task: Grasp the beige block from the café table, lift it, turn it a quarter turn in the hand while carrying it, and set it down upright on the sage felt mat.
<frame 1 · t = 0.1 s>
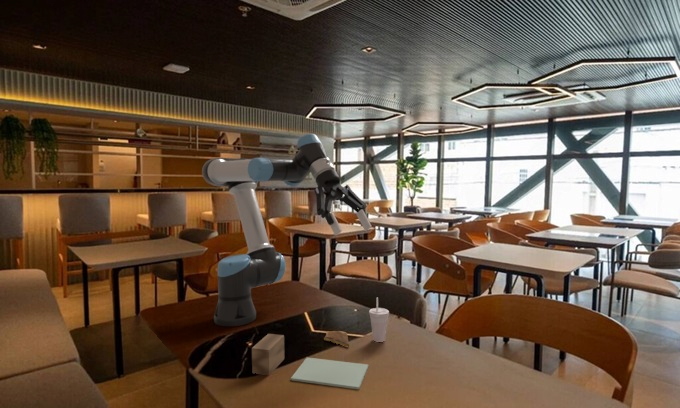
hand: (354, 230, 119), 36 cm above the table, tool tilted 35°, fingers open, 13 cm apart
smoothie: (379, 341, 124), on the table
beige block: (269, 365, 108), on the table
shard: (341, 341, 125), on the table
felt mat: (330, 373, 103), on the table
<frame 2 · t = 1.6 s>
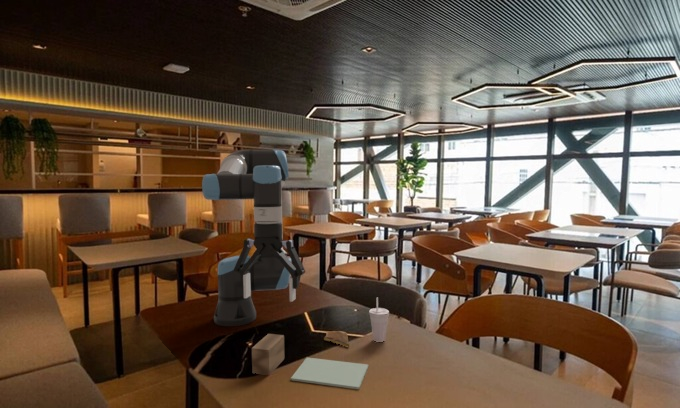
hand: (269, 298, 107), 19 cm above the table, tool pointing down, fingers open, 13 cm apart
nothing on the table moved.
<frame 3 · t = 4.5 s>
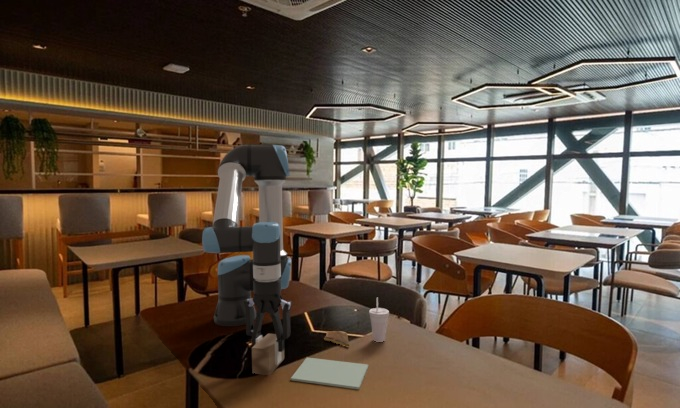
hand: (268, 360, 108), 1 cm above the table, tool pointing down, fingers closed on beige block, 5 cm apart
beige block: (269, 365, 108), on the table, touching gripper
everything else where it was.
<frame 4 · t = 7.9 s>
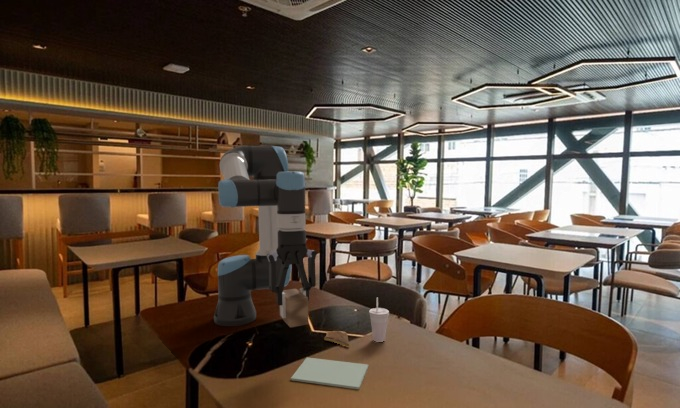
hand: (293, 314, 105), 15 cm above the table, tool pointing down, fingers closed on beige block, 5 cm apart
beige block: (293, 319, 105), point 14 cm above the table, touching gripper
everything else where it was.
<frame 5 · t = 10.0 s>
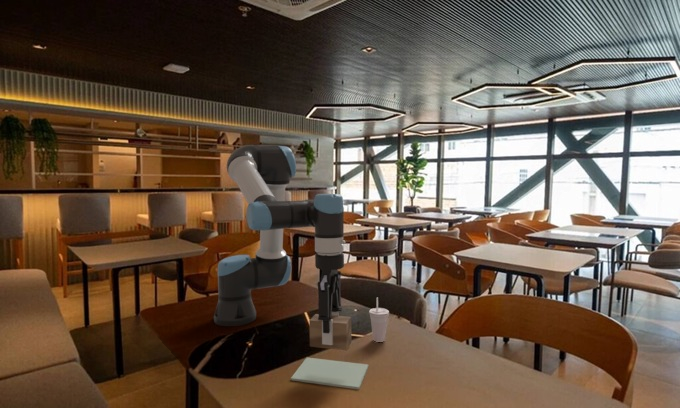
hand: (330, 339, 103), 9 cm above the table, tool pointing down, fingers closed on beige block, 5 cm apart
beige block: (330, 344, 103), point 8 cm above the table, touching gripper
everything else where it was.
when the fingers open (3 cm above the table, at t = 11.7 s): beige block drops 1 cm, resting on felt mat.
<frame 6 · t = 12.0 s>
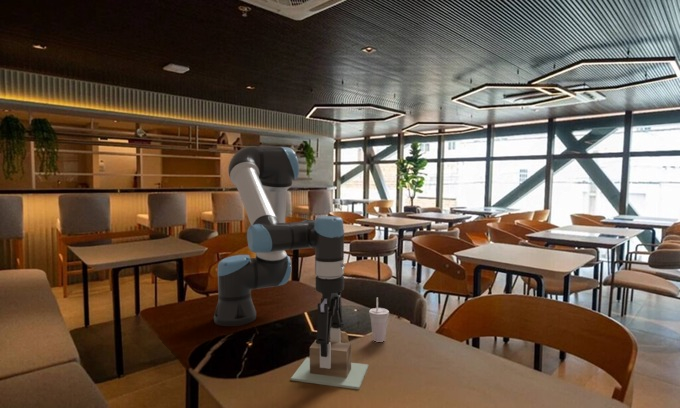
hand: (330, 359, 103), 4 cm above the table, tool pointing down, fingers open, 9 cm apart
beige block: (330, 371, 103), point 1 cm above the table, touching felt mat
everything else where it was.
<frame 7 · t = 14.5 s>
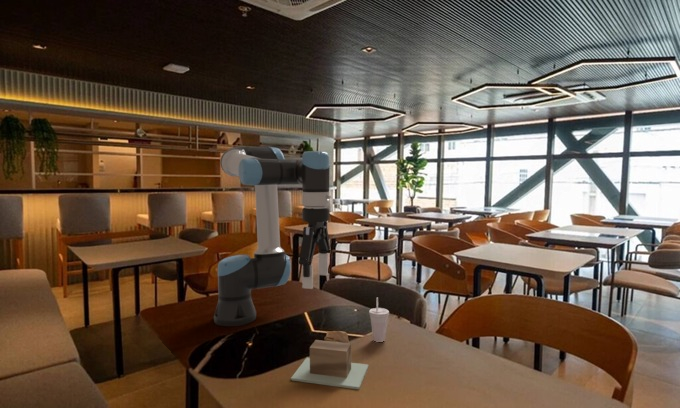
hand: (315, 281, 110), 23 cm above the table, tool pointing down, fingers open, 13 cm apart
nothing on the table moved.
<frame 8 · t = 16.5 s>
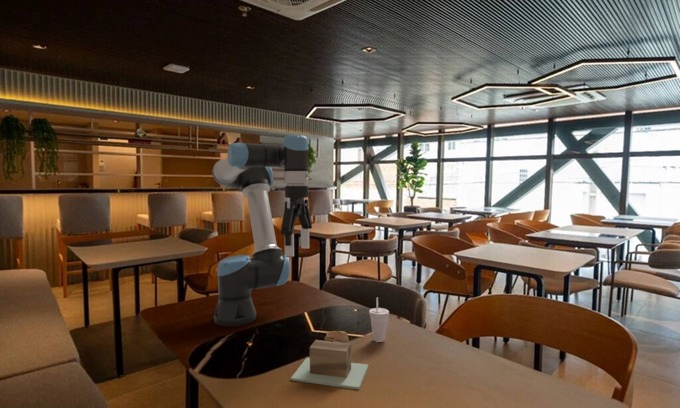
hand: (297, 252, 123), 29 cm above the table, tool pointing down, fingers open, 13 cm apart
nothing on the table moved.
at the end: beige block inside the target area on the felt mat (0.0 cm from its centre), point 0.6 cm above the felt mat's base; beige block tilted 0°; the gripper is holding nothing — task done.
